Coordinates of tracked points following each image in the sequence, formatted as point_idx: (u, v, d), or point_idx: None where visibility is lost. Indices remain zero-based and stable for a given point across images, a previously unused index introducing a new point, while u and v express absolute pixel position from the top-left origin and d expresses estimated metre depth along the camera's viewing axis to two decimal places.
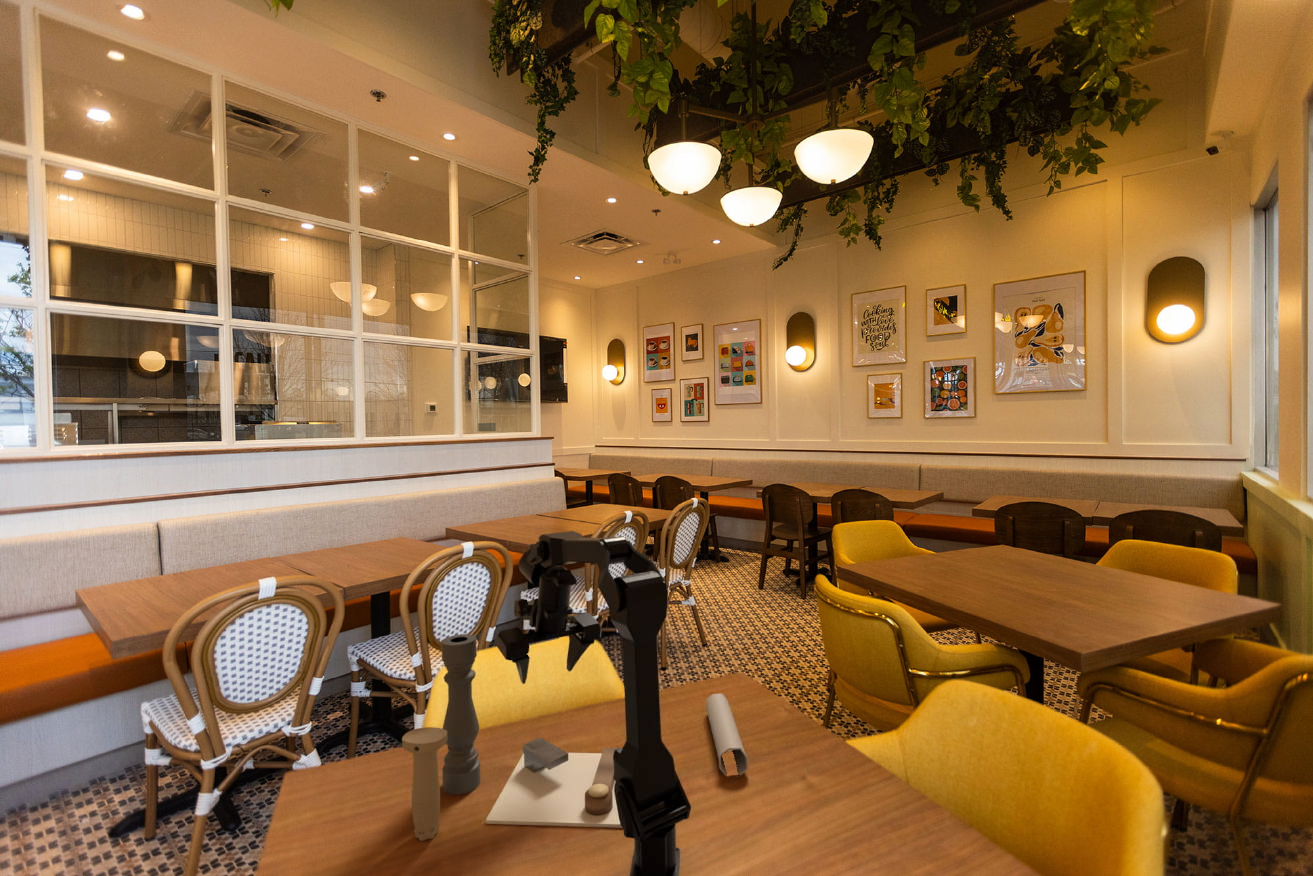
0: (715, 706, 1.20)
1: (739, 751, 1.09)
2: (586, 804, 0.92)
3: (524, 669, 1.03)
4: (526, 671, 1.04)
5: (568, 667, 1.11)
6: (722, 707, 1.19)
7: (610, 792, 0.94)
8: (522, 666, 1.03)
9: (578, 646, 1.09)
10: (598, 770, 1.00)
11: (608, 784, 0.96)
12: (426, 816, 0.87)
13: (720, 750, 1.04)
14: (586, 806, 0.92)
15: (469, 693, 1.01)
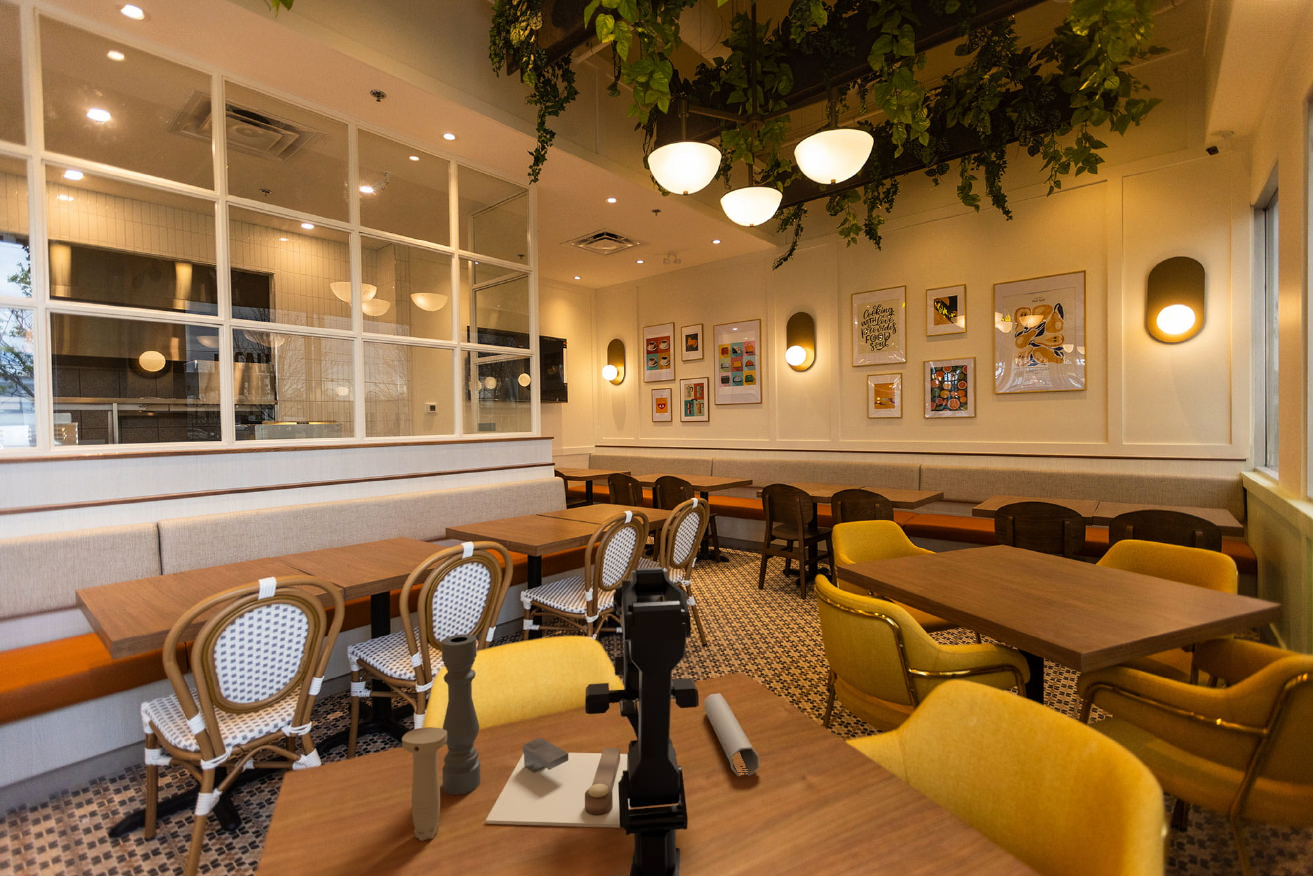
0: (716, 706, 1.20)
1: (746, 750, 1.09)
2: (586, 804, 0.92)
3: (636, 727, 0.97)
4: (639, 731, 0.97)
5: None
6: (723, 707, 1.19)
7: (610, 792, 0.94)
8: (633, 722, 0.96)
9: None
10: (598, 770, 1.00)
11: (608, 784, 0.96)
12: (426, 816, 0.87)
13: (731, 750, 1.04)
14: (586, 806, 0.92)
15: (469, 693, 1.01)
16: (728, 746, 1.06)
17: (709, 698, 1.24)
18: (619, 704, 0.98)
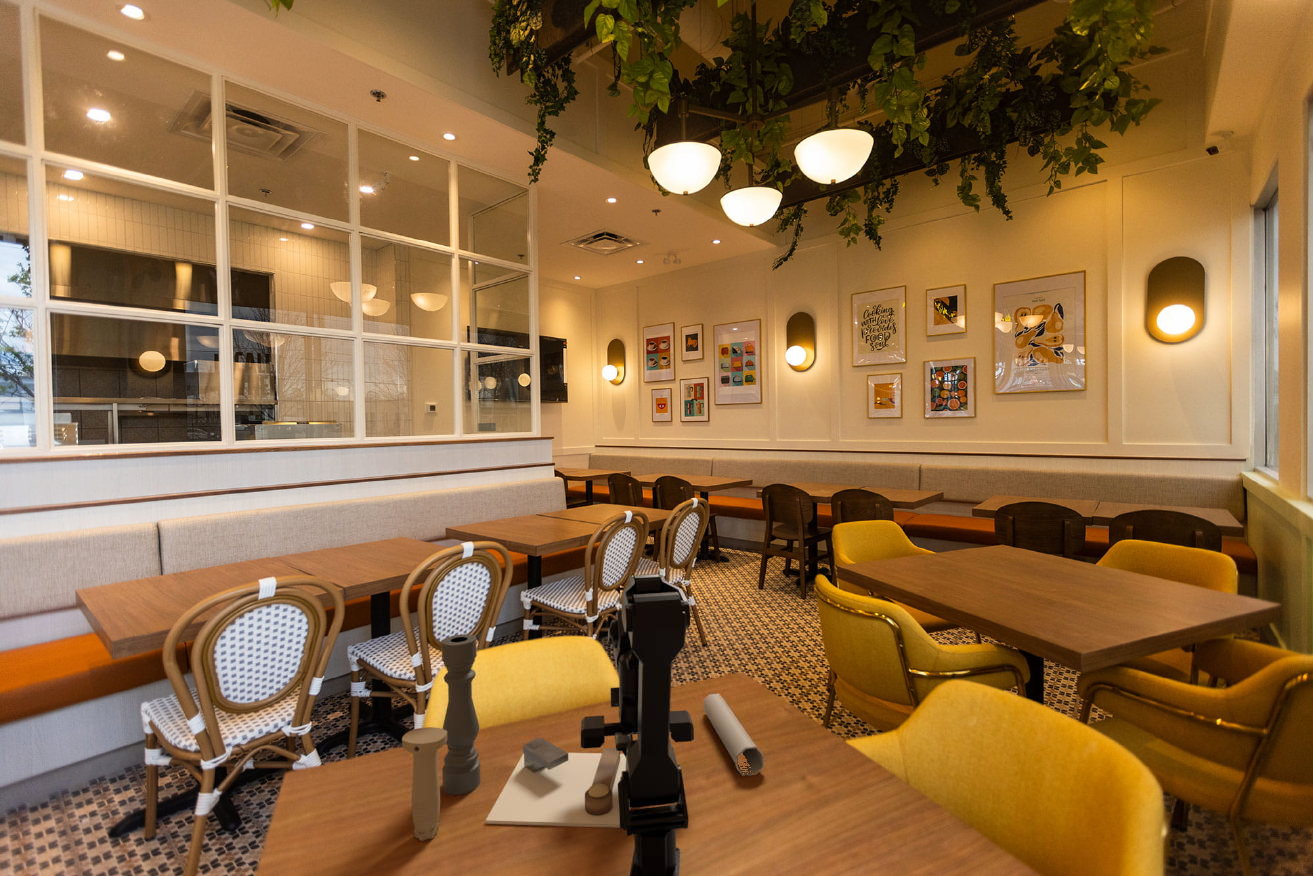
0: (716, 706, 1.20)
1: (749, 750, 1.09)
2: (586, 804, 0.92)
3: None
4: None
5: None
6: (724, 707, 1.19)
7: (610, 792, 0.94)
8: None
9: None
10: (598, 770, 1.00)
11: (608, 784, 0.96)
12: (426, 816, 0.87)
13: (735, 750, 1.04)
14: (586, 806, 0.92)
15: (469, 693, 1.01)
16: (732, 746, 1.06)
17: (708, 698, 1.24)
18: None
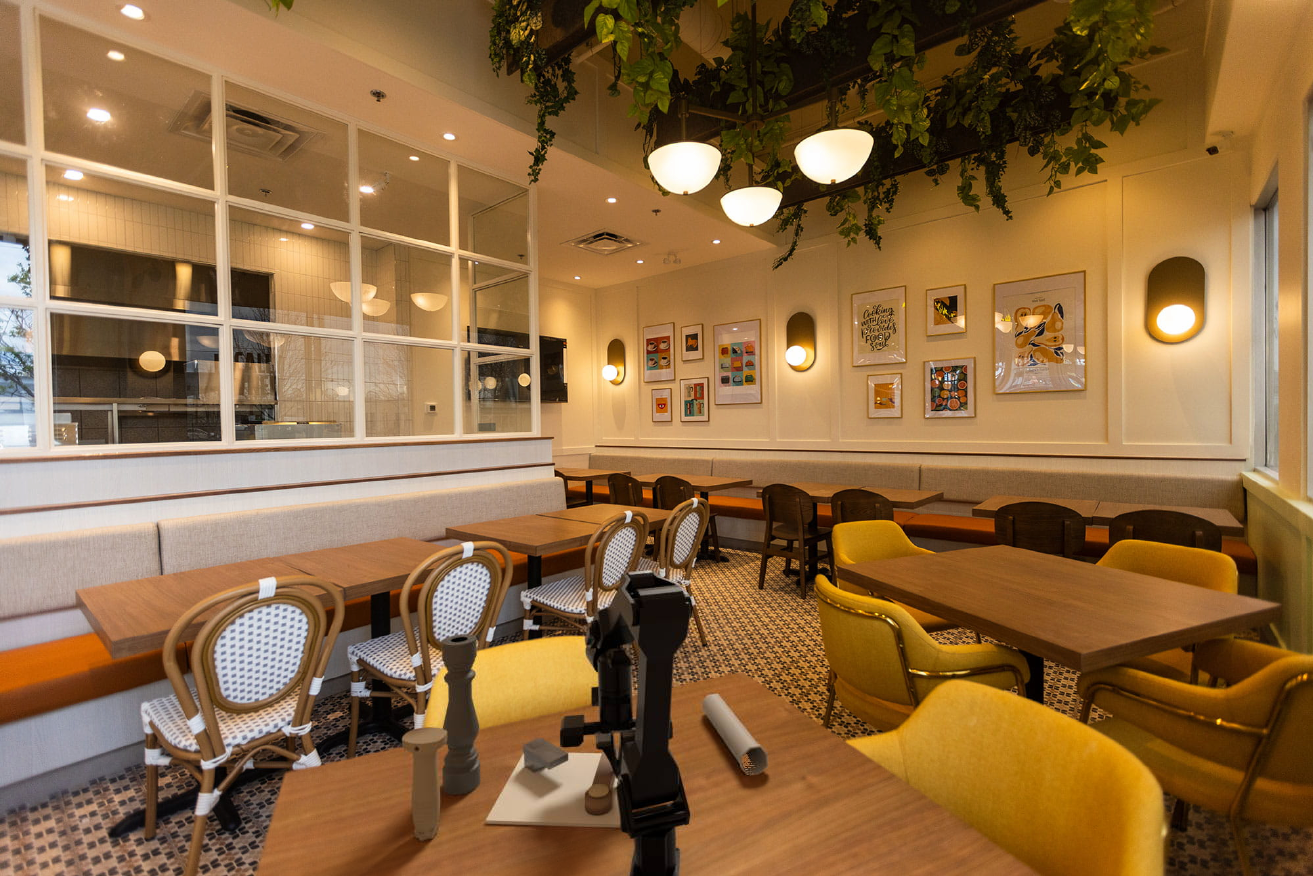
0: (716, 707, 1.20)
1: (752, 749, 1.09)
2: (586, 804, 0.92)
3: (612, 760, 0.98)
4: (615, 763, 0.98)
5: None
6: (724, 707, 1.19)
7: (610, 792, 0.94)
8: (608, 755, 0.97)
9: (620, 748, 0.98)
10: (598, 770, 1.00)
11: (608, 784, 0.96)
12: (426, 816, 0.87)
13: (739, 750, 1.04)
14: (586, 806, 0.92)
15: (469, 693, 1.01)
16: (736, 746, 1.06)
17: (708, 699, 1.24)
18: (595, 736, 0.98)
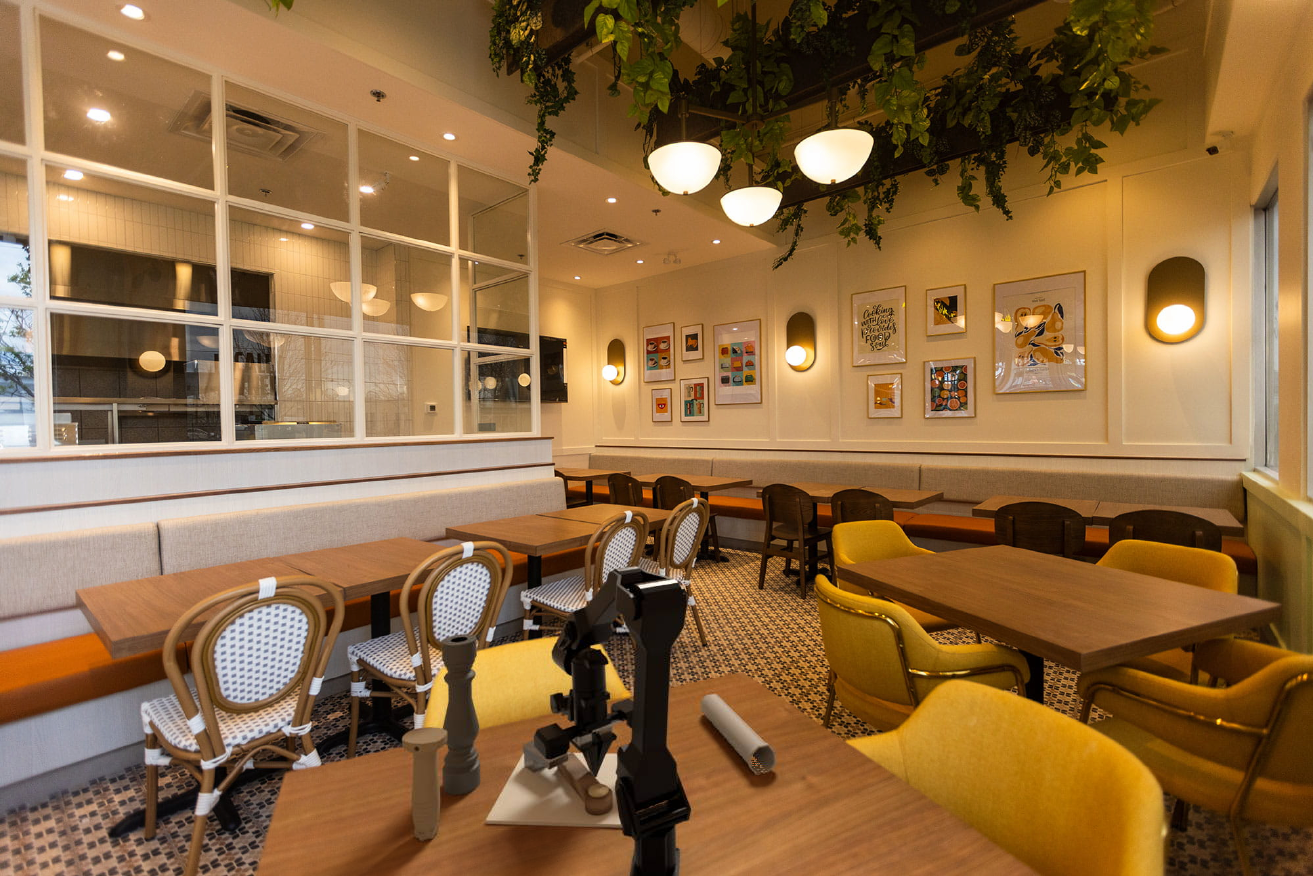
0: (717, 707, 1.19)
1: None
2: (592, 807, 0.92)
3: (593, 759, 0.98)
4: (595, 761, 0.98)
5: None
6: (725, 707, 1.19)
7: None
8: (591, 755, 0.97)
9: (599, 745, 0.99)
10: (575, 776, 0.99)
11: (598, 783, 0.96)
12: (426, 816, 0.87)
13: (747, 749, 1.04)
14: (591, 809, 0.92)
15: (469, 693, 1.01)
16: (743, 745, 1.06)
17: (706, 699, 1.24)
18: (575, 741, 0.97)
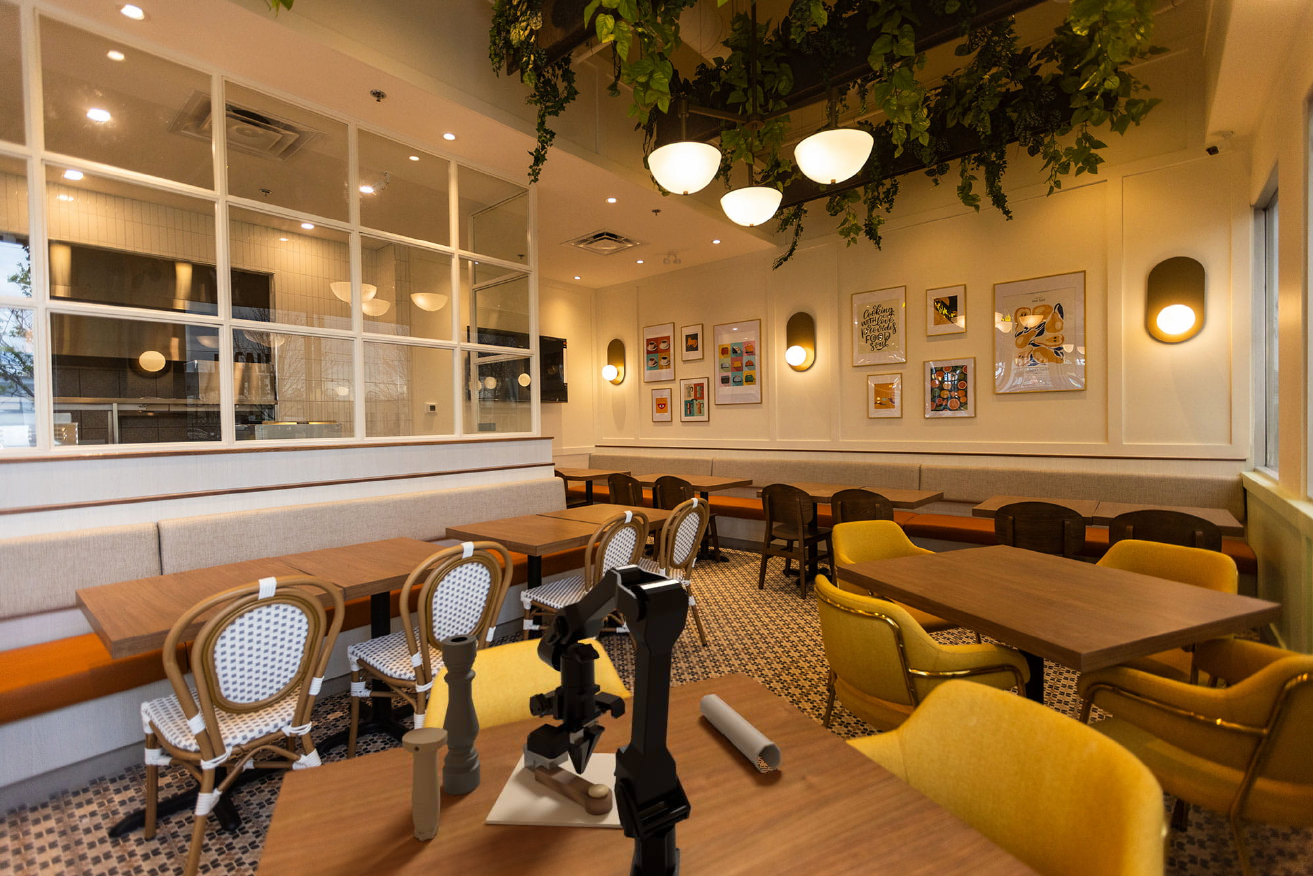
0: (717, 707, 1.19)
1: None
2: (596, 808, 0.91)
3: (584, 755, 0.97)
4: (585, 757, 0.98)
5: None
6: (726, 707, 1.19)
7: None
8: (583, 750, 0.96)
9: (590, 739, 0.98)
10: (564, 782, 0.97)
11: (592, 784, 0.96)
12: (426, 816, 0.87)
13: (753, 749, 1.04)
14: (596, 810, 0.91)
15: (469, 693, 1.01)
16: (748, 745, 1.06)
17: (706, 699, 1.24)
18: None
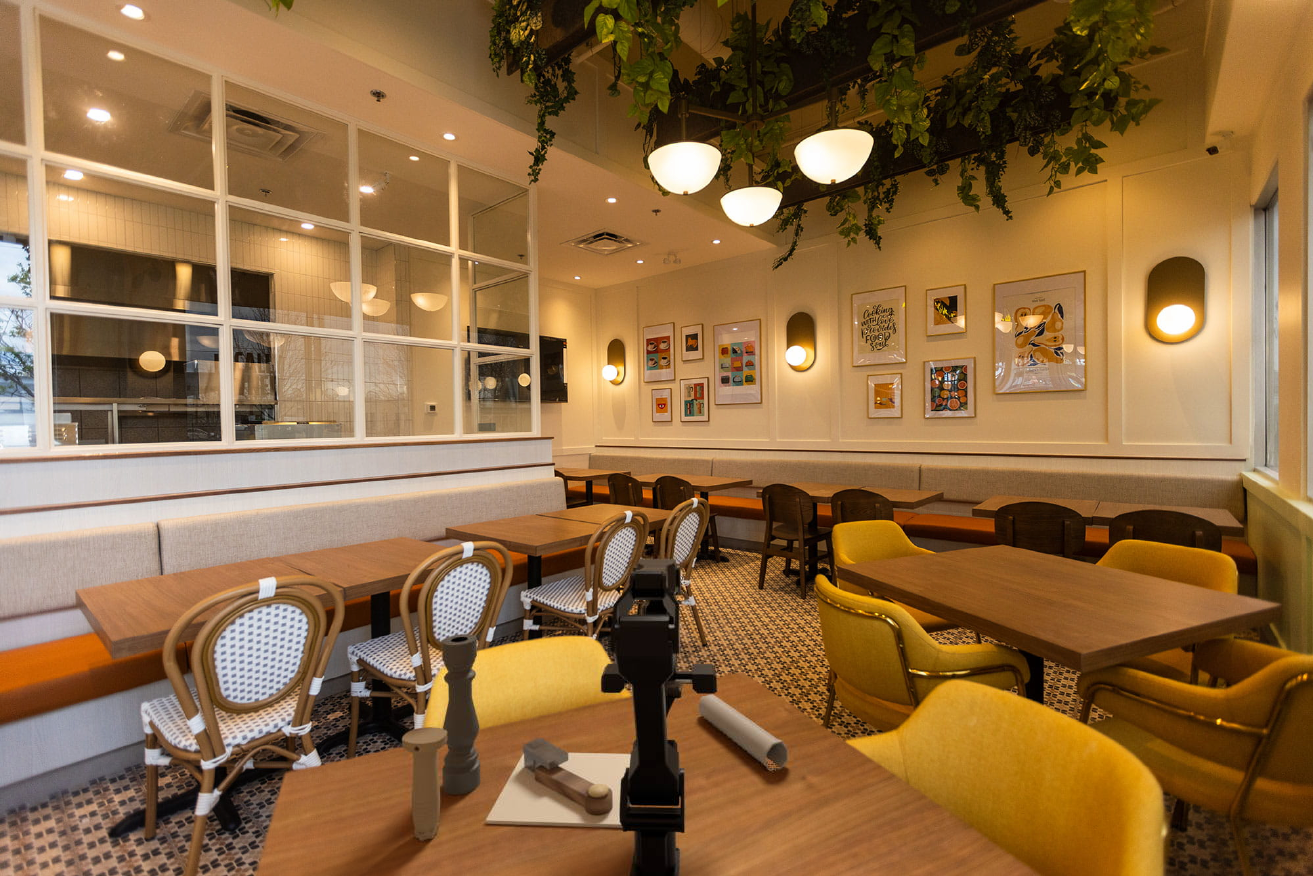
0: (718, 707, 1.19)
1: None
2: (596, 808, 0.91)
3: None
4: None
5: None
6: (727, 707, 1.19)
7: None
8: None
9: None
10: (564, 782, 0.97)
11: (592, 784, 0.96)
12: (426, 816, 0.87)
13: (761, 747, 1.05)
14: (596, 810, 0.91)
15: (469, 693, 1.01)
16: (755, 744, 1.06)
17: (705, 700, 1.23)
18: None
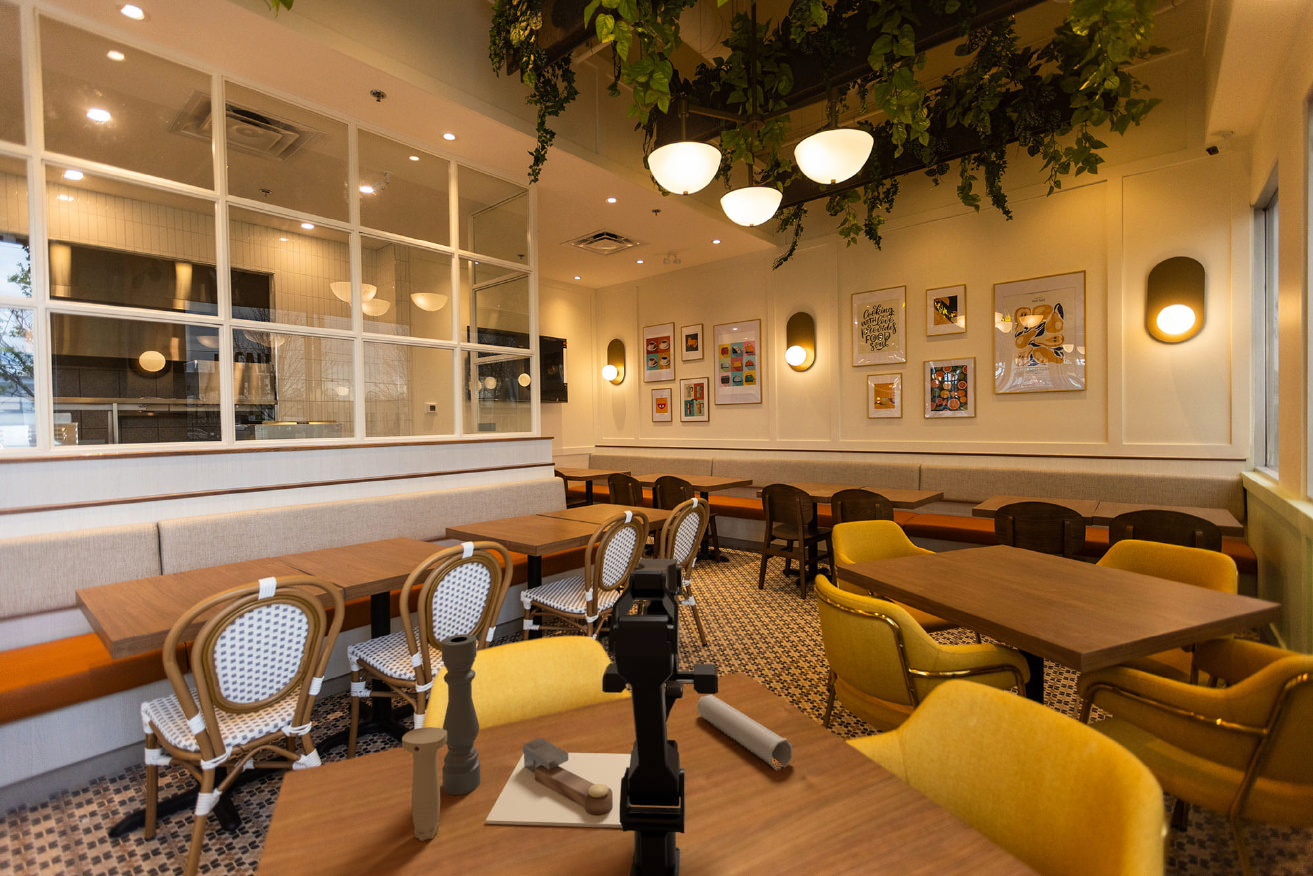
0: (719, 707, 1.19)
1: None
2: (596, 808, 0.91)
3: None
4: None
5: None
6: (727, 707, 1.19)
7: None
8: None
9: None
10: (564, 782, 0.97)
11: (592, 784, 0.96)
12: (426, 816, 0.87)
13: (766, 746, 1.05)
14: (596, 810, 0.91)
15: (469, 693, 1.01)
16: (760, 743, 1.06)
17: (704, 701, 1.23)
18: None
